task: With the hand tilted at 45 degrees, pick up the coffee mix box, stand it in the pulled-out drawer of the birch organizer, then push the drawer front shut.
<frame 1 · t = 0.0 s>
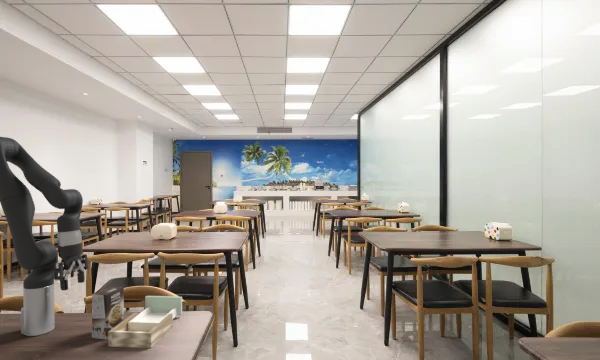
hand: (73, 286, 128), 17 cm above the table, tool pointing down, fingers open, 8 cm apart
organizer: (142, 335, 125), on the table
drawer: (154, 312, 135), point 5 cm above the table, slide at 8.0 cm
coffee box: (108, 333, 127), on the table
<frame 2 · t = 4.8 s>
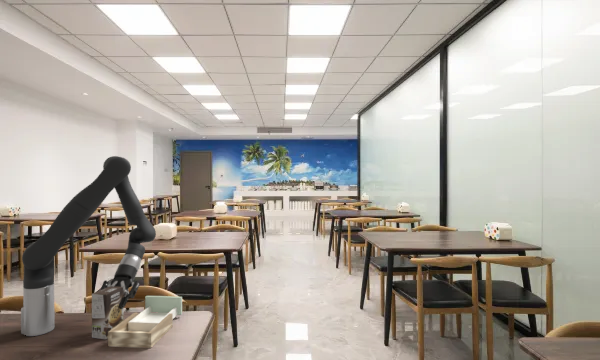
hand: (111, 307, 129), 9 cm above the table, tool tilted 45°, fingers closed on coffee box, 6 cm apart
coffee box: (108, 333, 127), on the table, touching gripper
everything else where it was.
when the fingers open (12 cm above the table, at t = 10.9 s): coffee box drops 1 cm, resting on drawer.
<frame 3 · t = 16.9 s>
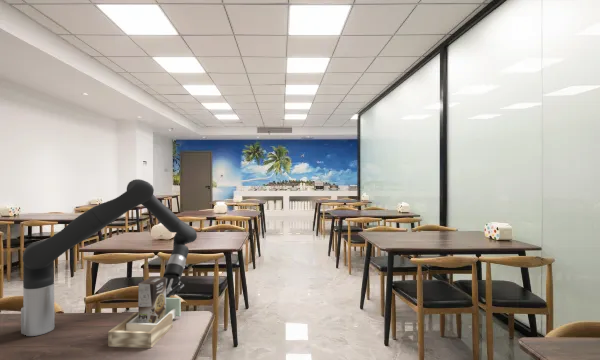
hand: (162, 304, 142), 5 cm above the table, tool tilted 45°, fingers closed
drawer: (152, 314, 133), point 5 cm above the table, slide at 6.6 cm, touching coffee box, gripper
coffee box: (152, 321, 133), point 2 cm above the table, touching drawer
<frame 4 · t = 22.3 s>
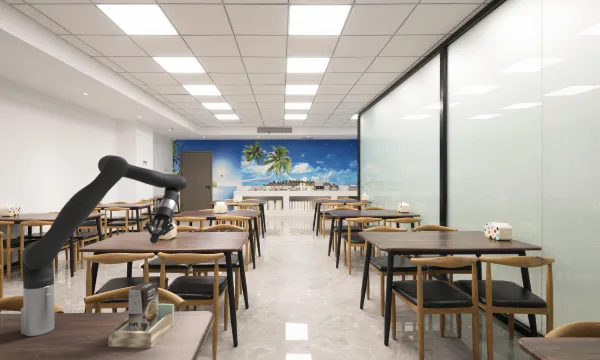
hand: (152, 242, 146), 30 cm above the table, tool tilted 45°, fingers closed
drawer: (144, 321, 127), point 5 cm above the table, slide at 0.0 cm, touching coffee box
coffee box: (144, 329, 127), point 2 cm above the table, touching drawer
at the end: drawer slide at 0.0 cm; coffee box inside the target area on the organizer (0.9 cm from its centre), point 1.7 cm above the organizer's base; coffee box tilted 0° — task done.
